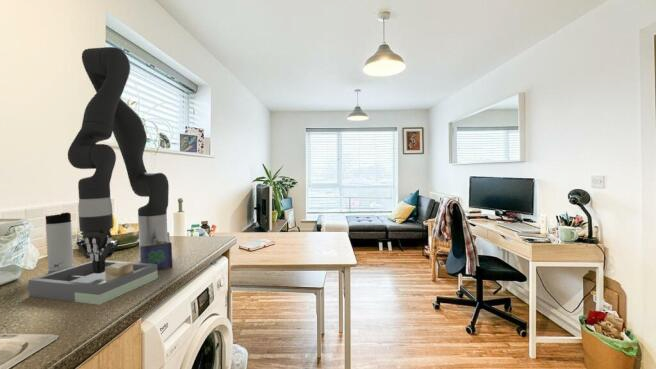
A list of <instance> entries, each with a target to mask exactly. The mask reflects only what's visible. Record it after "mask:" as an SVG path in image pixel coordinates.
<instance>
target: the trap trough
mask: <svg viewBox="0 0 656 369" xmlns="http://www.w3.org/2000/svg"><path fill="white" fill-rule="evenodd" d="M118 262H123V261H122V260H121V261H120V260H107V259H105V267H106V266H109V265H112V264H115V263H118ZM128 262H129V263H133V272H131V273H128V274H126V275H123V276H121V277H118V278H115V279H113V280H110V281H108V282H106V276H105V271H104V272H102V273H100V274H97V273H94V271H93V263H92V261H91V260H90V261H87V262H83V263H81V264H78V265H74V266H73V267H70V268H67V269H63V270H60V271H57V272H53V273H50V274H49V273H47V274H44V275H41V276H37V277H34V278H30V279H28V280H27V282H28V296H29V297H32V298H33V297H34V298H40V299H49V300H57V301H65V302H72V303H73V302H75V303H82V304H90V305H98V306H99V305H103V304H105V303H107V302H109V301H111V300H113V299H116V298H117V297H120V296H122V295H124V294H127V293H128V292H132V291H133V290H135V289H137V288H139V287H141V286H145V285H146V284H149V283H150V282H153V281H154V280H157V279H159V276H158V275H159V274H158V273H159V272H158V271H159V270H157V264H149V263H141V262H133V261H128Z"/></svg>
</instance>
